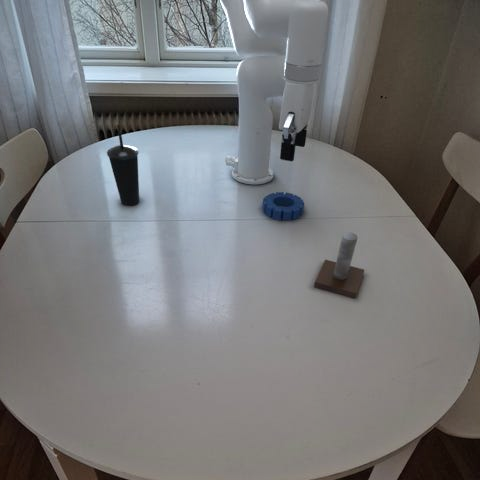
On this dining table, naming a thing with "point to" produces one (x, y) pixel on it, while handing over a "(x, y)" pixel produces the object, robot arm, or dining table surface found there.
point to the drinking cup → (125, 171)
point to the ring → (283, 212)
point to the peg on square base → (341, 270)
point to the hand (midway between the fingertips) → (292, 152)
